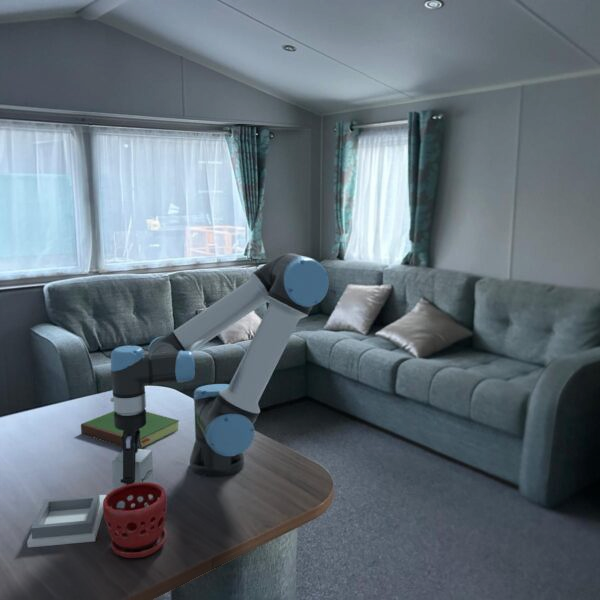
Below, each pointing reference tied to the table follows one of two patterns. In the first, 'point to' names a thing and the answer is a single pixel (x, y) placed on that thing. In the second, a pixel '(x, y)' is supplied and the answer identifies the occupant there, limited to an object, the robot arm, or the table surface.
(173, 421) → the hardcover book
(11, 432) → the table surface
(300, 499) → the table surface
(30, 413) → the table surface
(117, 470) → the supplement box
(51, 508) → the plate
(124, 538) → the plant pot
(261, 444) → the table surface
